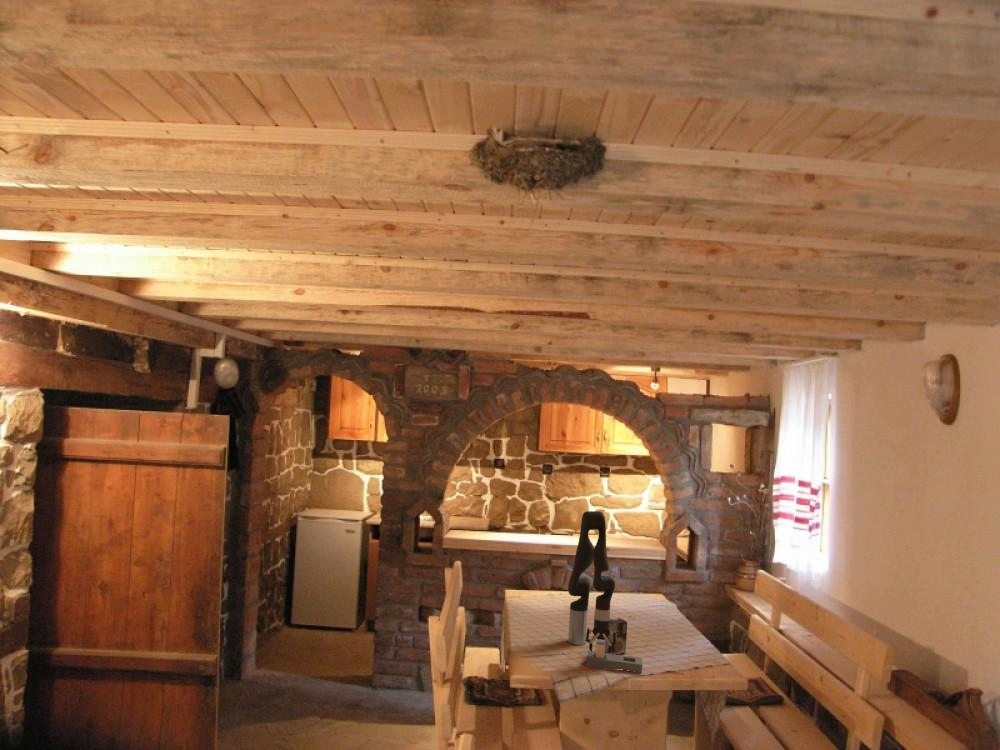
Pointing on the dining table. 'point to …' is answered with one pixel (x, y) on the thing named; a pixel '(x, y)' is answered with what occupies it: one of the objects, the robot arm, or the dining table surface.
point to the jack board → (614, 662)
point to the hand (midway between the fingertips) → (600, 652)
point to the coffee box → (617, 636)
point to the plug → (600, 649)
